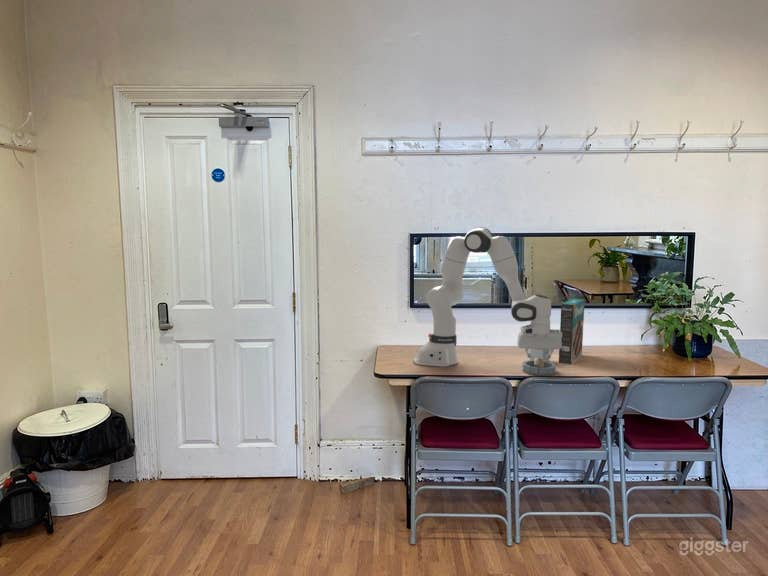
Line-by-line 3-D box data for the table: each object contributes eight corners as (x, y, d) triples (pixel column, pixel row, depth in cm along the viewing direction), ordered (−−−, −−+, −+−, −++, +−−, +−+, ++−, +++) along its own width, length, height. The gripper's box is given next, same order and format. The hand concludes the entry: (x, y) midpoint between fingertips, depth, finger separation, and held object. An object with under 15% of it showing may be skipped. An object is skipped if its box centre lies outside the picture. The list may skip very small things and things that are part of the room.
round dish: (526, 375, 246) (526, 368, 245) (519, 366, 261) (519, 359, 260) (559, 376, 245) (559, 368, 245) (550, 367, 260) (551, 360, 259)
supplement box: (529, 360, 272) (530, 336, 271) (536, 358, 278) (537, 334, 276) (542, 363, 267) (543, 338, 266) (549, 360, 272) (550, 336, 271)
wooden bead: (535, 370, 251) (535, 359, 250) (533, 368, 255) (533, 357, 254) (544, 370, 250) (544, 360, 250) (542, 368, 255) (542, 357, 254)
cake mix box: (570, 364, 266) (573, 304, 262) (558, 362, 269) (561, 303, 265) (581, 355, 284) (584, 299, 280) (570, 353, 287) (572, 298, 283)
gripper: (560, 328, 253) (559, 356, 255) (517, 327, 254) (515, 355, 256) (564, 331, 247) (562, 360, 249) (519, 329, 248) (518, 358, 250)
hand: (538, 357), depth 252 cm, fingers open, 8 cm apart
